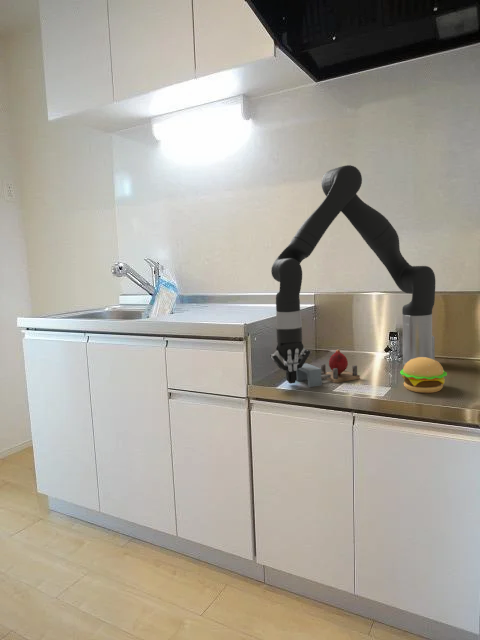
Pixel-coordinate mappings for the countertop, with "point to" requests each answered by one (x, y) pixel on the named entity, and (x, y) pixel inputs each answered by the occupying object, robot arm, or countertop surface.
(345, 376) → the pin seat
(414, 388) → the hamburger
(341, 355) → the onion
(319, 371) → the housing
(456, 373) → the countertop surface
